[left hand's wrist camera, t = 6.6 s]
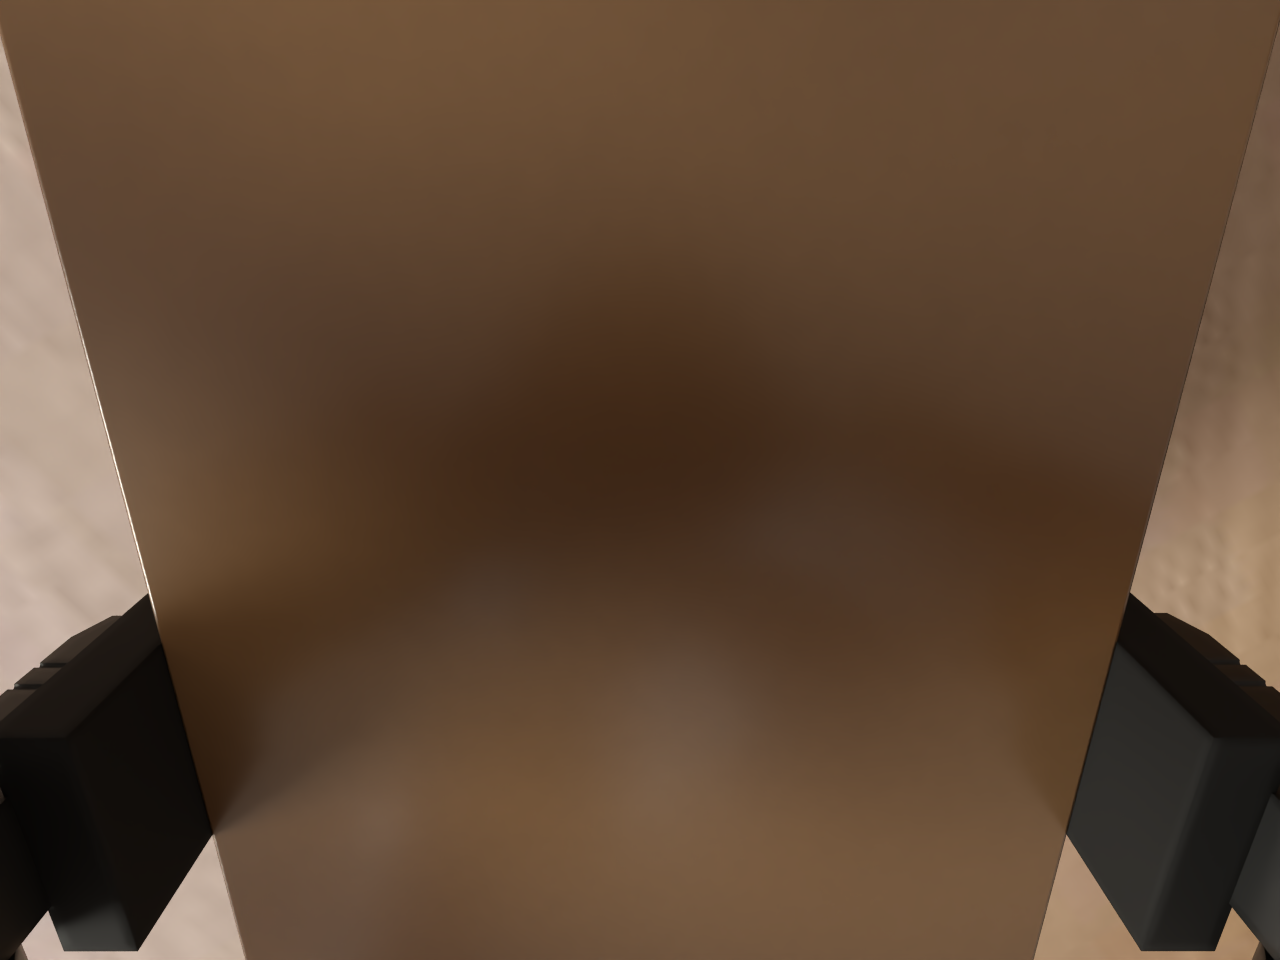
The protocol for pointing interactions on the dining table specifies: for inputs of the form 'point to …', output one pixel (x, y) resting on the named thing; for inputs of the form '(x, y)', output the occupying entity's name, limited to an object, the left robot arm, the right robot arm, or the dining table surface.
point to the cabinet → (638, 441)
